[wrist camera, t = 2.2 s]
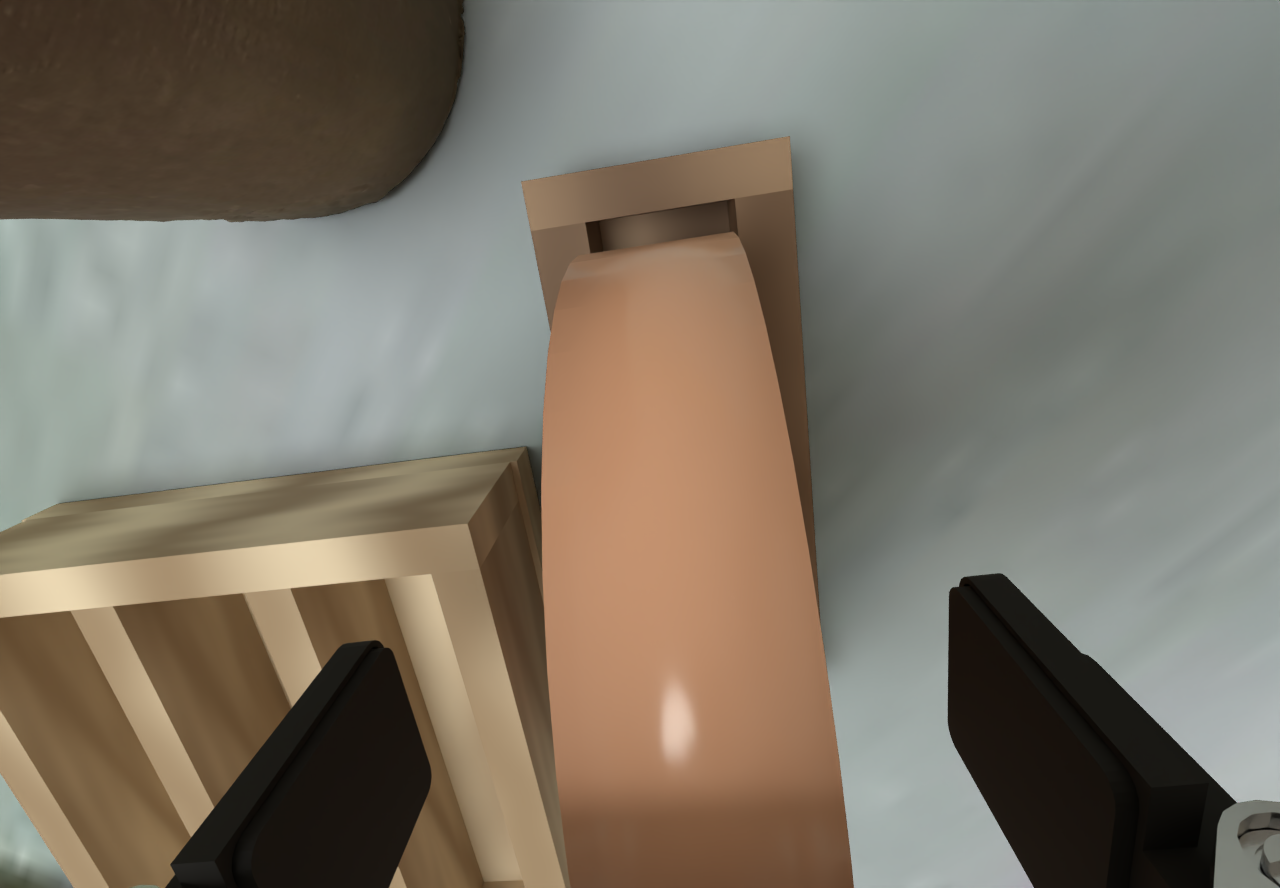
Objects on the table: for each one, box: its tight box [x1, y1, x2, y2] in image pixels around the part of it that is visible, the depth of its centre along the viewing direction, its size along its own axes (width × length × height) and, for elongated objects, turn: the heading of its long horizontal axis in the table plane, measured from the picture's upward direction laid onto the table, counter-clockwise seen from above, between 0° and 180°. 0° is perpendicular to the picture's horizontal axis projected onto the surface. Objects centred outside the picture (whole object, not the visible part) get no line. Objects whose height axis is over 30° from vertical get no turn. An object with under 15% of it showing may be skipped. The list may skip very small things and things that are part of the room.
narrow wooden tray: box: [521, 136, 820, 619], centre depth 17 cm, size 6×16×3 cm, turn 9°
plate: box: [541, 232, 854, 888], centre depth 12 cm, size 2×13×13 cm, turn 8°
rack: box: [0, 447, 571, 888], centre depth 20 cm, size 16×18×5 cm
